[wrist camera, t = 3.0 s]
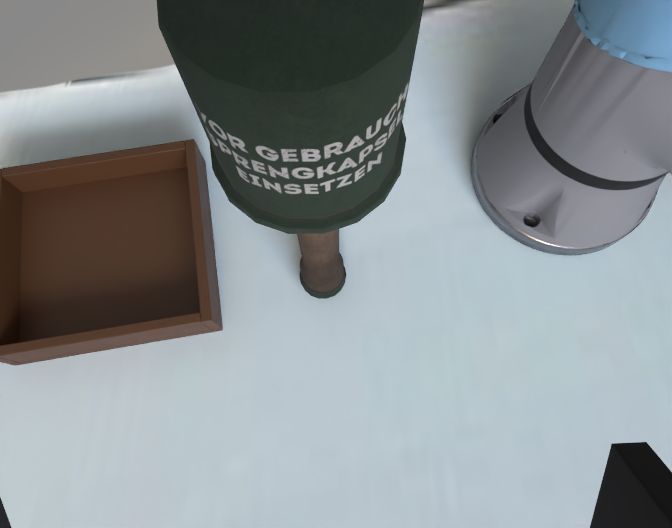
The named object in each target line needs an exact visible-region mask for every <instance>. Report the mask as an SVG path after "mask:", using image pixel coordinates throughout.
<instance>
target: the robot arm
mask: <svg viewBox="0 0 672 528" xmlns="http://www.w3.org/2000/svg"><path fill="white" fill-rule="evenodd" d="M520 91H521V90H520ZM520 91H519V93H518V92H517V93H518V94H517V93H516V94H517V95H516V96H514V95H515V94H514V95H512V96H514V97H513V98H511V97H512V96H511V97H509V98H511V99H510V100H509V101H508V102H506V103H505V104H504V105H503V106H501V107H500V108H499V109H498V110H497V111H496V112H495V113H494V114H493V115H492V116H491V117H490V118H489V120H488V121H487V123H486V124H485V126H484V128H483V130H482V132H481V134H480V136H479V138H478V140H477V142H476V145H475V148H474V151H473V155H472V163H471V174H472V181H473V185H474V189H475V192H476V195H477V197H478V199H479V201H480V203H481V205H482V207H483V209H484V210H485V212H486V213H487V214H488V216H489V217H490V218H491V219H492V220H493V222H494V223H495V224H496V225H497V226H498V227H499V228H500V229H501V230H503V231H504V232H505V233H506V234H508V235H509V236H511V237H512V238H514V239H515V240H517V241H519V242H520V243H522V244H524V245H526V246H529V247H531V248H533V249H536V250H539V251H543V252H547V253H551V254H557V255H582V254H588V253H592V252H596V251H599V250H602V249H604V248H606V247H609V246H611V245H612V244H614V243H616V242H617V241H619V240H620V239H622V238H623V237H624V236H626V235H627V234H629V233H630V232H631V231H633V230H634V229H635V228H636V227H637V226H638V225H639V224H640V223H641V222H642V220H643V219H644V218H645V216H646V215H647V213H648V212H649V210H650V208H651V206H652V204H653V202H654V200H655V197H656V194H657V191H658V188H659V186H660V184H661V182H662V180H663V179H664V177H665V176H666V174H667V173H668V172H670V173H672V0H575V3H574V6H573V8H572V10H571V12H570V14H569V15H568V17H567V19H566V21H565V23H564V25H563V27H562V28H561V30H560V32H559V34H558V36H557V38H556V40H555V41H554V43H553V45H552V47H551V49H550V51H549V53H548V54H547V56H546V58H545V60H544V62H543V64H542V65H541V67H540V69H539V71H538V73H537V75H536V77H535V78H534V80H533V82H532V83H531V84H529V85H528V86H526V87H525V89H524V88H523V89H522V91H521V92H520ZM509 98H508V99H509ZM508 99H507V100H508ZM505 101H506V100H505ZM505 101H504V102H505ZM501 104H502V103H501ZM0 528H11V526H10V523H9V520H8V517H7V515H6V512H5V509H4V506H3V504H2V501H1V498H0ZM590 528H672V472H671V471H670V470H669V469H668V467H667V466H666V465H665V464H664V463H663V461H662V460H661V459H660V458H659V457H658V456H657V454H656V453H655V452H654V451H653V450H652V448H651V447H650V446H649V445H648V444H647V442H641V443H618V444H612V446H611V449H610V453H609V457H608V461H607V465H606V468H605V472H604V476H603V480H602V484H601V488H600V491H599V495H598V499H597V503H596V507H595V510H594V514H593V518H592V522H591V526H590Z"/></svg>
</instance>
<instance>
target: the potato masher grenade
mask: <svg viewBox="0 0 672 528" xmlns="http://www.w3.org/2000/svg"><path fill="white" fill-rule="evenodd" d="M423 4H424V0H157V9H158V22H159V28H160V30H161V32H162V34H163V37H164V39H165V41H166V44H167V46H168V48H169V50H170V53H171V55H172V57H173V60H174V62H175V64H176V67H177V69H178V71H179V73H180V76H181V78H182V80H183V82H184V85H185V87H186V89H187V92H188V94H189V96H190V98H191V101H192V103H193V105H194V107H195V110H196V112H197V114H198V116H199V119H200V121H201V123H202V126H203V128H204V130H205V132H206V135H207V137H208V139H209V141H210V150H211V159H212V168H213V171H214V174H215V176H216V177H217V179H218V181H219V183H220V184H221V186H222V188H223V190H224V191H225V193H226V195H227V197H228V199H229V201H230V202H231V203H232V204H234V205H235V206H236V207H237V208H239V209H240V210H241V211H242V212H244V213H245V214H246V215H247V216H248V217H250V218H251V219H252V220H253V221H254V222H256V223H259V224H262V225H265V226H268V227H271V228H273V229H276V230H279V231H282V232H285V233H288V234H297V236H298V240H299V245H300V250H301V254H302V257H301V260H300V269H301V271H300V280H301V284H302V285H303V287H304V289H305V291H306V292H308V293H309V294H310V295H311V296H314V297H317V298H329V297H332V296H334V295H336V294H337V293H338V292H339V291H340V290H341V289H342V287H343V285H344V283H345V278H346V272H345V267H344V265H343V259H342V256H341V254H340V253H339V228H342V227H345V226H348V225H351V224H354V223H357V222H358V221H360V220H361V219H362V218H364V217H365V216H366V215H367V214H369V213H370V212H371V211H372V210H374V209H375V208H376V207H378V206H379V205H380V204H381V203H383V202H384V201H385V199H386V197H387V196H388V194H389V192H390V191H391V189H392V187H393V186H394V184H395V182H396V181H397V179H398V177H399V176H400V174H401V167H402V161H403V155H404V149H405V143H406V136H405V132H404V128H403V124H402V118H403V113H404V108H405V102H406V97H407V92H408V86H409V81H410V76H411V70H412V65H413V60H414V54H415V49H416V44H417V39H418V33H419V28H420V22H421V16H422V10H423Z"/></svg>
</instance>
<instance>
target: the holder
mask: <svg viewBox="0 0 672 528" xmlns="http://www.w3.org/2000/svg"><path fill="white" fill-rule="evenodd" d="M220 330H223V328H222V318H221V308H220V299H219V289H218V280H217V270H216V260H215V251H214V241H213V232H212V222H211V212H210V203H209V193H208V184H207V174H206V164H205V160H204V158H203V156H202V154H201V152H200V150H199V148H198V146H197V144H196V142H195V140H194V139H191V140H185V141H179V142H172V143H166V144H159V145H152V146H146V147H139V148H133V149H126V150H120V151H113V152H107V153H100V154H93V155H87V156H80V157H74V158H67V159H61V160H54V161H47V162H41V163H34V164H28V165H21V166H15V167H8V168H2V169H0V362H3V363H7V364H11V365H20V364H26V363H32V362H38V361H44V360H49V359H55V358H61V357H67V356H73V355H79V354H85V353H91V352H97V351H102V350H108V349H114V348H120V347H126V346H132V345H138V344H144V343H150V342H155V341H161V340H167V339H173V338H179V337H185V336H191V335H197V334H203V333H208V332H214V331H220Z"/></svg>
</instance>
